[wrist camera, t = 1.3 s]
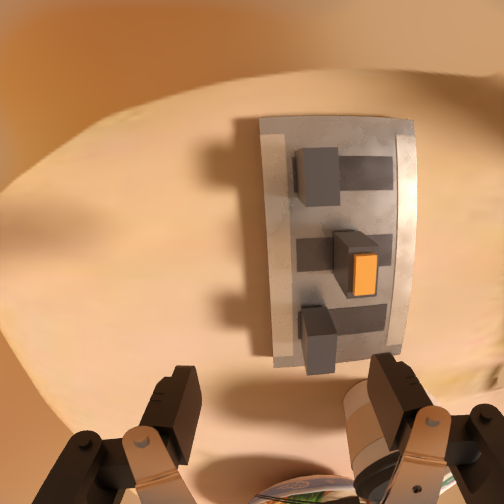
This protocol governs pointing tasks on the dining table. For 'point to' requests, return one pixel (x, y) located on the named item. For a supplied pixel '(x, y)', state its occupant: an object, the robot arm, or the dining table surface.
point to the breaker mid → (356, 264)
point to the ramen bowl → (308, 491)
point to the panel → (340, 230)
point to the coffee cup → (367, 446)
